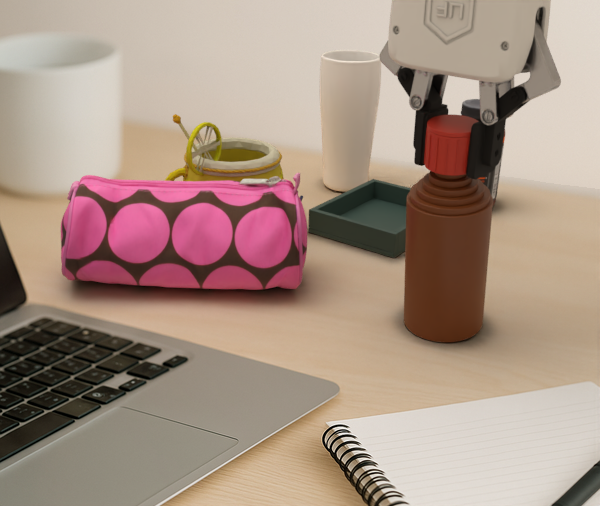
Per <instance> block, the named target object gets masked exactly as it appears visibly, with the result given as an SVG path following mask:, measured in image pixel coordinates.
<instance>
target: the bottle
mask: <svg viewBox="0 0 600 506" xmlns="http://www.w3.org/2000/svg"><path fill="white" fill-rule="evenodd" d="M411 186H412V187H410V188H411V189H410V192H409V193H408V195H407V201H406V244H405V251H404V286H403V287H404V290H403V292H404V293H403V323H404V325H405V327H406V329H408V331H409V332H411V333H412V334H414V335H415V336H416V337H419V338H421V339H424V340H427V341H431V342H436V343H456V342H461V341H465V340H468V339H470V338H472V337H474V336H475V335H477V334H478V333H479V332H480V331H481V329H482V327H483V325H484V314H485V313H484V312H485V303H486V301H485V300H486V288H487V278H488V277H487V276H488V265H489V254H490V252H489V251H490V241H491V231H492V230H491V229H492V219H493V208H494V206H493V198H492V196H491V194H490V191H489V189H488V188H487V187H486V186H485V185H484V184H483V183H482V181H480V180H479V179H476V180H475V179H471V178H469V177H468V176H467V174H464V175H458V176H451V175H441V174H437V173H434V172H431V171H430V170H429V172H428V173H427V172H426V174H425V175H424V176H423V177H421V178H420V179H419V180H418V181H417V182H415V183H414V184H413V185H411Z"/></svg>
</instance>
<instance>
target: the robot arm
mask: <svg viewBox="0 0 600 506" xmlns="http://www.w3.org/2000/svg"><path fill="white" fill-rule="evenodd" d="M551 2H552V0H391V6H390V12H389V13H390V14H389V23H388V24H389V25H388V37H387V38H388V39H387V41H386V43H385V44H384V46H383V47H382V49H381V51H380V52H379V55H380V61H381V64H382V65H383V66H385V67H386V68H387V70H389V71H390V73H392V74H393V75H394V76H396V77H397V81H398V83H399V84H400V85H401V87H402V88H403V90H404V92H405V93H406V95H407V96H408V97H409V99H408V103H409V107H410V108H411V109H412V110H413V111H415V118H414V127H413V128H414V129H413V141H412V143H413V145H412V146H413V148H414V158H413V159H414V161H413V162H414V165H417V166H421V167H423V166H425V164H424V155H425V140H426V128H427V122H428V120H429V119H431V118H433V117H435V116H440V115H449V108H448V104H445V103H443V99H444V94H445V91H446V87H447V82H448V78H449V77H455V78H461V79H466V80H472V81H478V92H479V93H478V94H479V99H480V120H479V122H476V123H474V124H473V125H472V127H471V135H470V144H469V153H468V162H467V172H466V174H467V176H468V177H469V178H471V179H475V180H476V179H478V178H480V177H482V176H484V175H486V174H488V173H490V172H492V171H494V169H495V167H496V166H497V165H498V164H499V162H500V159H501V154H502V146H503V138H504V131H505V132H506V122H507V119H508V118H511V117H513V115H514V113H516V112H517V111H518V110H520V109H521V108H522V107H524V106H525V105H527V104H528V103H529V102H531V101H532V100H534V99H537V98H539V97H541V96H544V95H546V94H547V93H550V92H553V91H554V90H556V89H558V88H560V86H561V83H562V79H561V76H560V73H559V70H558V68H557V67H556V63H555V60H554V58H553V56H552V53H551V51H550V50H551V49H550V48H549V45H548V43H547V41H548V33H549V26H550V25H549V24H550V14H551ZM525 73H527V74H528V73H529V78H528V79H527V80H526V81H524V82H522V83H521V84H518V85H516V86H515V76H516V75H519V74H525Z"/></svg>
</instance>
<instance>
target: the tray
mask: <svg viewBox="0 0 600 506" xmlns="http://www.w3.org/2000/svg"><path fill="white" fill-rule="evenodd" d="M411 188H412V187H408V186H404V185H399V184H396V183H391V182H387V181H384V180H379V179H377V178H372V179H370V180H368V182H366V183H364V184H361V185H359V186H357V187H355V188H353V189H351V190H349V191H347V192H342V193H341V194H338V195H337V196H334V197H333V198H330V199H328V200H326V201H324V202H321V203H320V204H317V205H316V206H313V207H312V208H309V209H308V229H307V233H310V234H313V235H317V236H319V237H323V238H327V239H330V240H333V241H336V242H339V243H342V244H346V245H349V246H353V247H356V248H360V249H363V250H367V251H369V252H373V253H376V254H380V255H382V256H385V257H389V258H393V259H394V258H396V257H398V256H400V255H401V254H403V253H405V244H406V201H407V195H408V193H409V192H410V189H411Z"/></svg>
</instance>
